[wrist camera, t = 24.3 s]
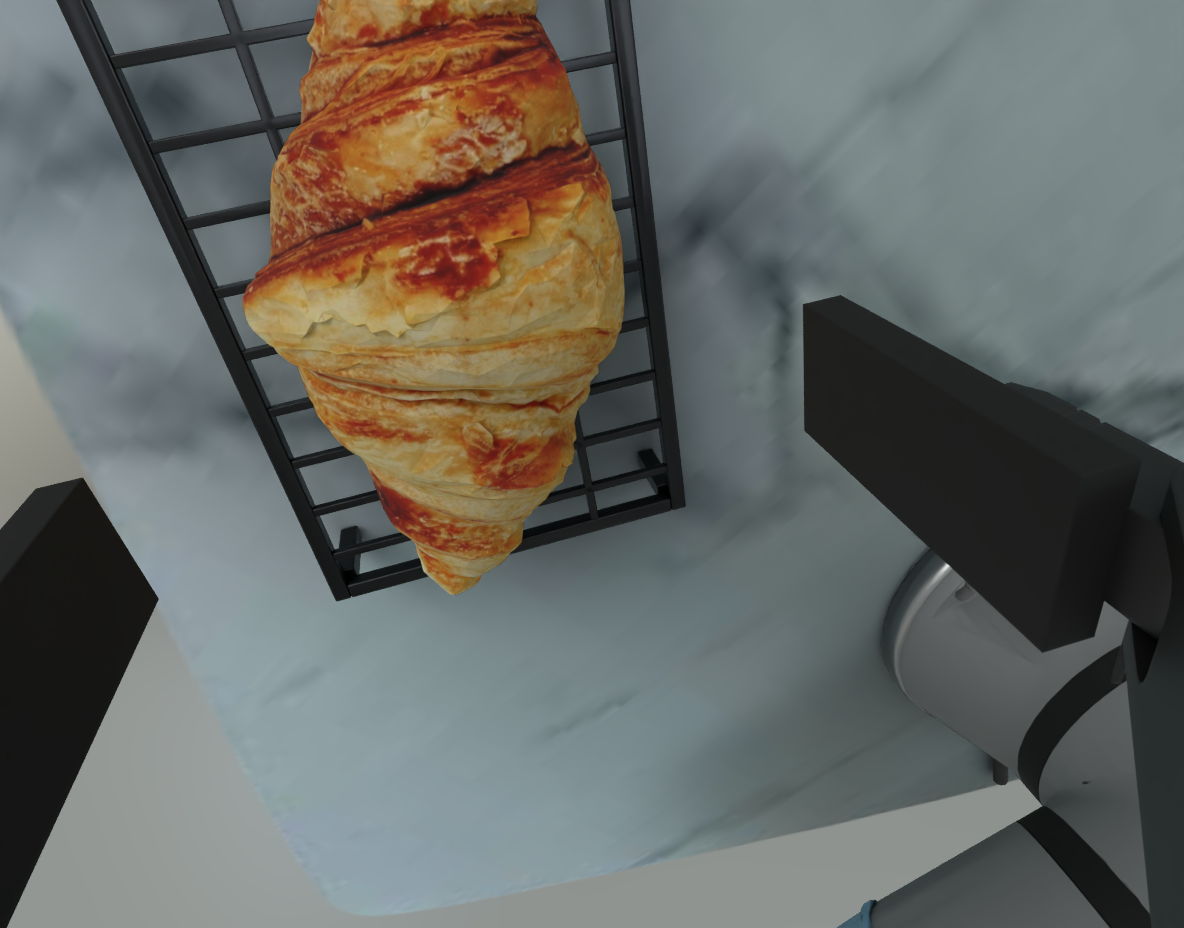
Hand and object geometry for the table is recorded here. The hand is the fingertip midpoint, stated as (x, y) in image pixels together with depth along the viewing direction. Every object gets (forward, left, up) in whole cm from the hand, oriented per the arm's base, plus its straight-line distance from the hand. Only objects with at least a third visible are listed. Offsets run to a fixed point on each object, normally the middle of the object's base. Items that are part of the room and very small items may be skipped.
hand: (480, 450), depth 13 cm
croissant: (0, 0, -11) cm, 11 cm away
